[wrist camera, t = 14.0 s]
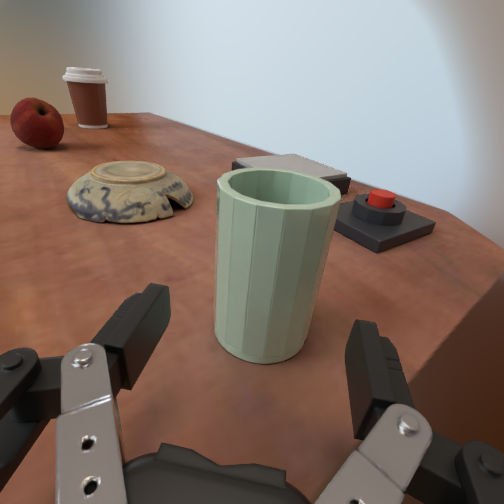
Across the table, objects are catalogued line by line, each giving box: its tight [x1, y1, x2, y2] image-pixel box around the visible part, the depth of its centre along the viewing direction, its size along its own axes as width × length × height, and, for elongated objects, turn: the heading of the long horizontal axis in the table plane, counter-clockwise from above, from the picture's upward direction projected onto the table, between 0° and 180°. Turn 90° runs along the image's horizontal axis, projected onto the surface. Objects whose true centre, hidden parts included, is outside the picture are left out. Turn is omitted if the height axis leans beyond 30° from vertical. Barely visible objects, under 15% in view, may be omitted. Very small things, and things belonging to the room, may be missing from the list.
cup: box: [213, 167, 341, 364], centre depth 18 cm, size 6×6×10 cm
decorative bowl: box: [67, 161, 193, 223], centre depth 37 cm, size 15×4×15 cm
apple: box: [11, 98, 64, 149], centre depth 52 cm, size 7×8×8 cm
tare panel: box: [334, 194, 436, 253], centre depth 37 cm, size 11×9×3 cm
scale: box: [232, 154, 351, 194], centre depth 47 cm, size 13×13×3 cm
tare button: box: [367, 189, 396, 209], centre depth 36 cm, size 3×3×2 cm
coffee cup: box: [63, 67, 108, 129], centre depth 71 cm, size 9×9×12 cm
